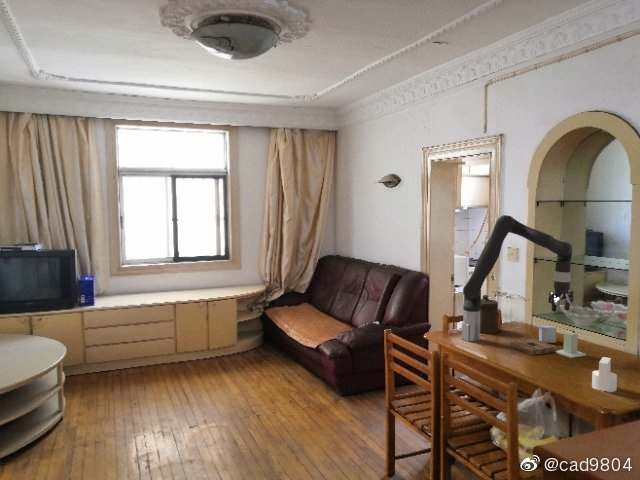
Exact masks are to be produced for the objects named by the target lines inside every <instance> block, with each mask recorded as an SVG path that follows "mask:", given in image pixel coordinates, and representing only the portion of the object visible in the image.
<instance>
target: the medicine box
mask: <svg viewBox="0 0 640 480" xmlns="http://www.w3.org/2000/svg"><path fill="white" fill-rule="evenodd" d="M538 340H539V341H542V342H545V343H548V344H550V343H551V344H552V343H554V344H555V343H557V327H555V326H554V325H539V326H538Z"/></svg>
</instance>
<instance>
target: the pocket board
mask: <svg viewBox="0 0 640 480" xmlns="http://www.w3.org/2000/svg"><path fill="white" fill-rule="evenodd" d="M509 344H510V347H511V348H513V349H516V350H519V351H521V352H524V353H526V354H529V355H532V356H535V355H536V356H537V355H541V354H542V355H543V354H548V353H549V354H550V353H556V352H555V351H557V350H558V349H557V347H558V346H555V345H553V344H550V343H545V342H542V341H539V339H536V338H528V339H523V340H515V341H510V343H509Z"/></svg>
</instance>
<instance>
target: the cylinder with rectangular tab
mask: <svg viewBox="0 0 640 480" xmlns="http://www.w3.org/2000/svg"><path fill="white" fill-rule="evenodd" d="M611 360H612V359H611V357H606V356H602V358H601V359H600V360H599V362H598V370H597V369H596V370H594V371H593V370H592V373H591V375H592V376H591V379H592V380H591V387H592V388H593V389H594V390H596V389H597V391H599V390H601V391H600V392H604V391H607V392H606V393H615V392H617V390H618V389H617V387H618V385H617V384H618V375H617V374H616V373H614V372H612V371H611V364H612V363H611V362H612V361H611ZM614 391H615V392H614Z"/></svg>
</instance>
